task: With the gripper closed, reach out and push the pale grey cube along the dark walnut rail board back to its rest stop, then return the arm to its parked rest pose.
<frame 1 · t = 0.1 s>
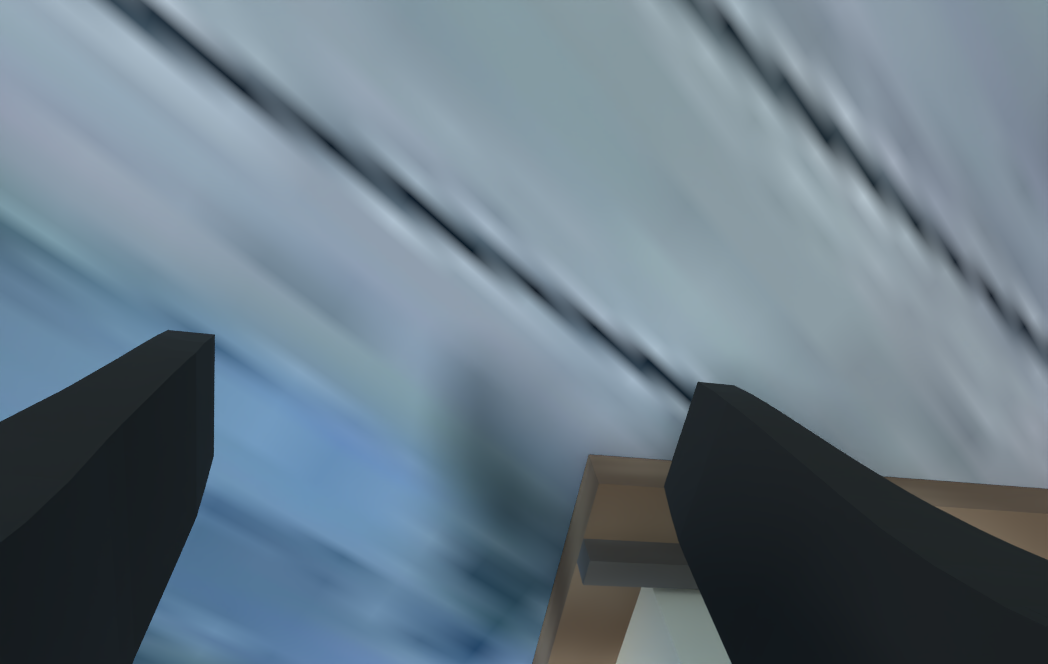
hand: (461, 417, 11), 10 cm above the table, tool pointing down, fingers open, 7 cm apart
rail board: (825, 600, 29), on the table
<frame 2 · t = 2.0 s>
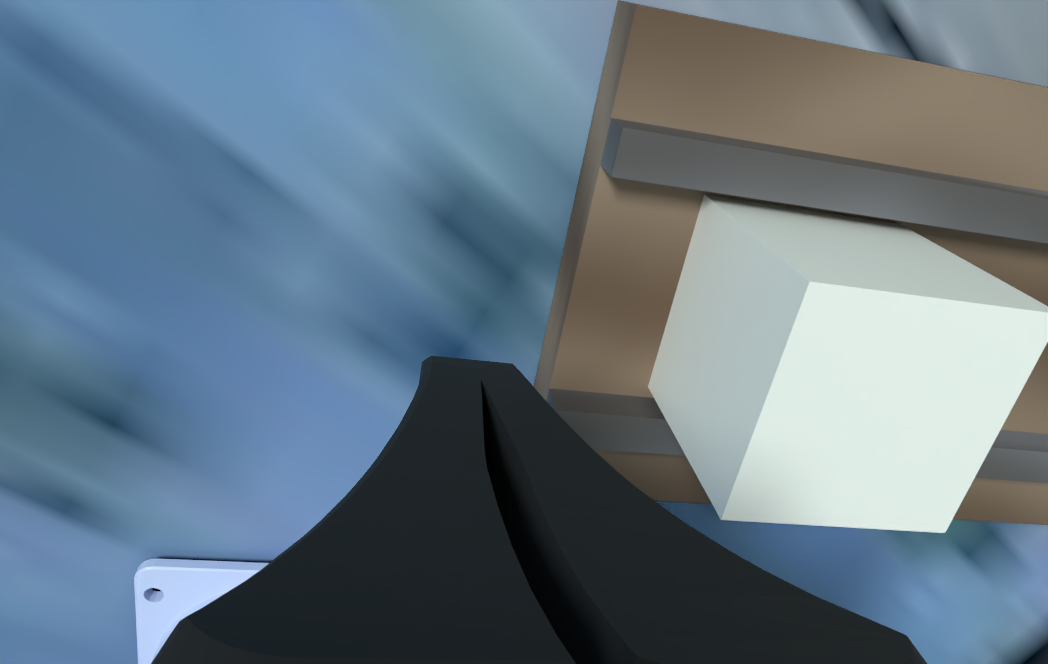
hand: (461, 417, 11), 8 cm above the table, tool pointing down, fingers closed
pale grey cube: (819, 356, 16), point 4 cm above the table, slide at 9.0 cm, touching rail board
rail board: (944, 309, 21), on the table
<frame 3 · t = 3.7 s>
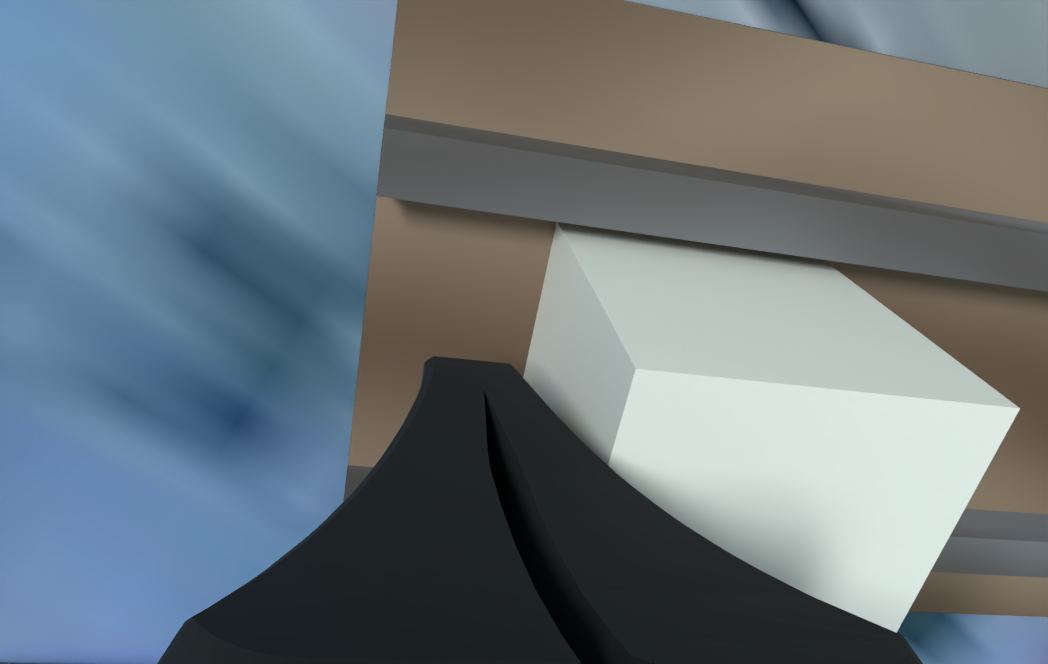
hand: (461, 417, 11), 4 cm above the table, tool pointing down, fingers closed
pale grey cube: (703, 442, 12), point 4 cm above the table, slide at 8.5 cm, touching gripper, rail board
rail board: (872, 356, 17), on the table
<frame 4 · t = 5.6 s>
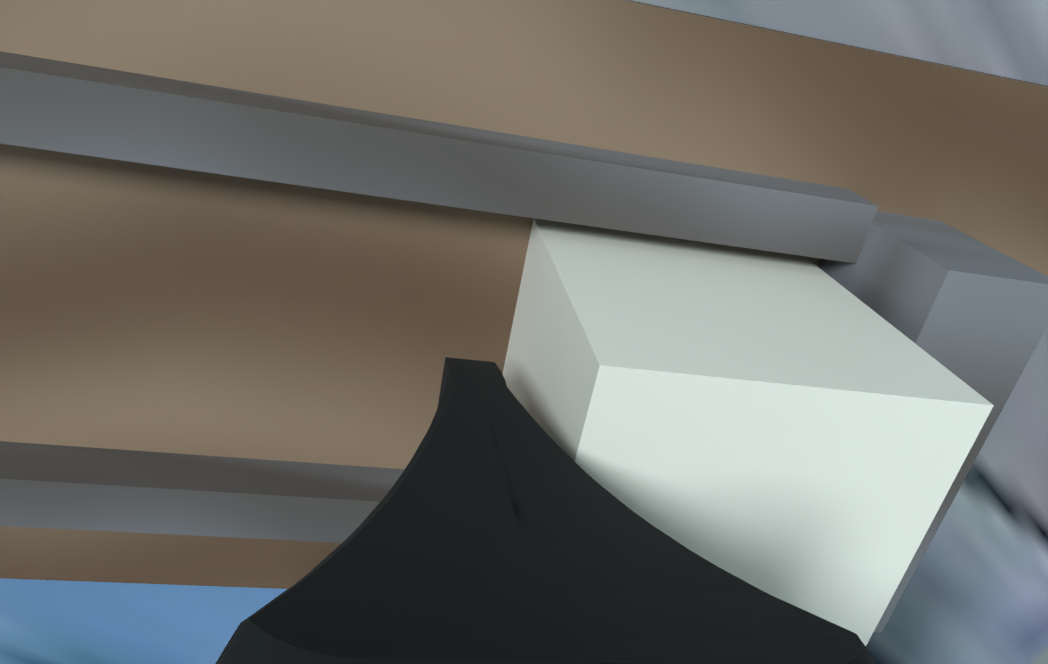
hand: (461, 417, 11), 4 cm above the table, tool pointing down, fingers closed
pale grey cube: (680, 440, 12), point 4 cm above the table, slide at -0.2 cm, touching gripper, rail board
rail board: (465, 310, 15), on the table
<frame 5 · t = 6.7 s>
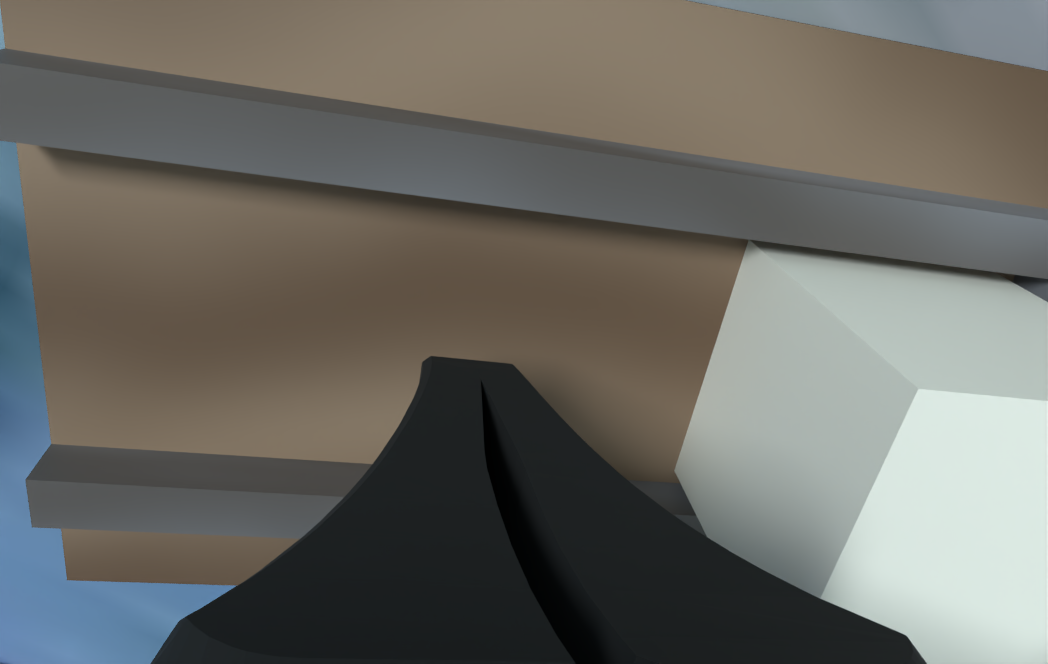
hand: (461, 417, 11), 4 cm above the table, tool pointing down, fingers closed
pale grey cube: (901, 451, 13), point 4 cm above the table, slide at 0.0 cm, touching rail board
rail board: (659, 325, 15), on the table
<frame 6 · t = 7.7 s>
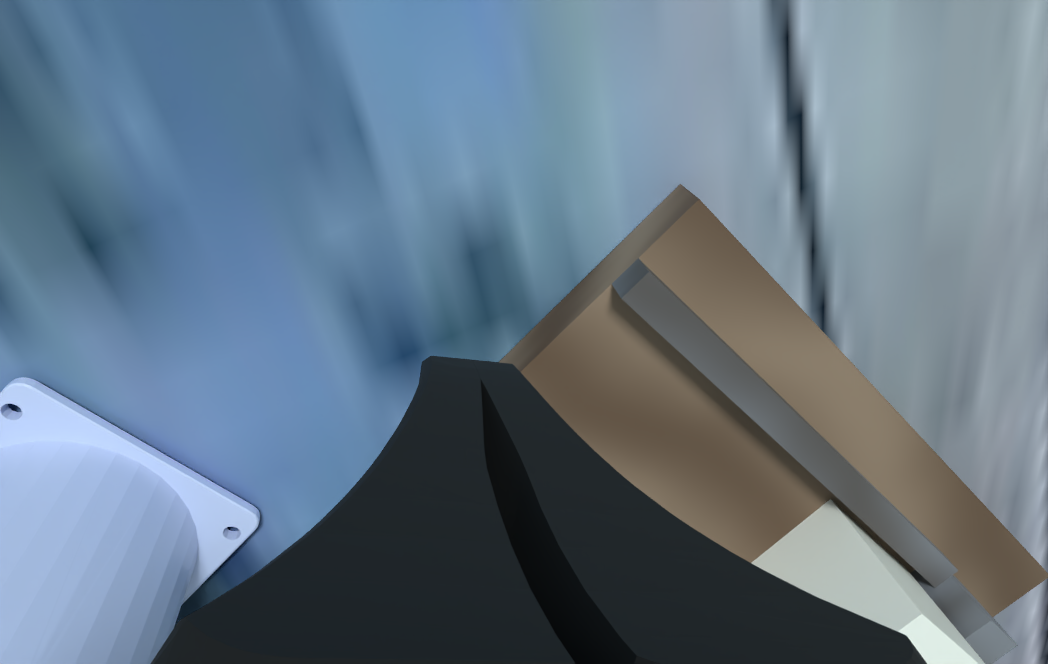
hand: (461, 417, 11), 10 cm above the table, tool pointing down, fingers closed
pale grey cube: (850, 633, 25), point 4 cm above the table, slide at 0.0 cm, touching rail board
rail board: (746, 509, 27), on the table
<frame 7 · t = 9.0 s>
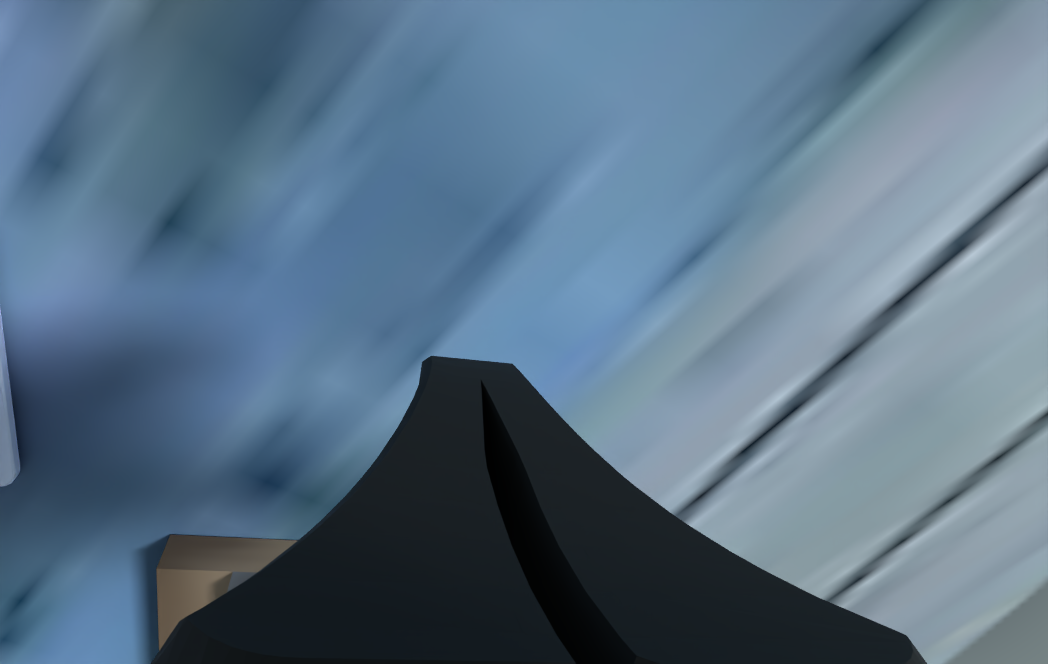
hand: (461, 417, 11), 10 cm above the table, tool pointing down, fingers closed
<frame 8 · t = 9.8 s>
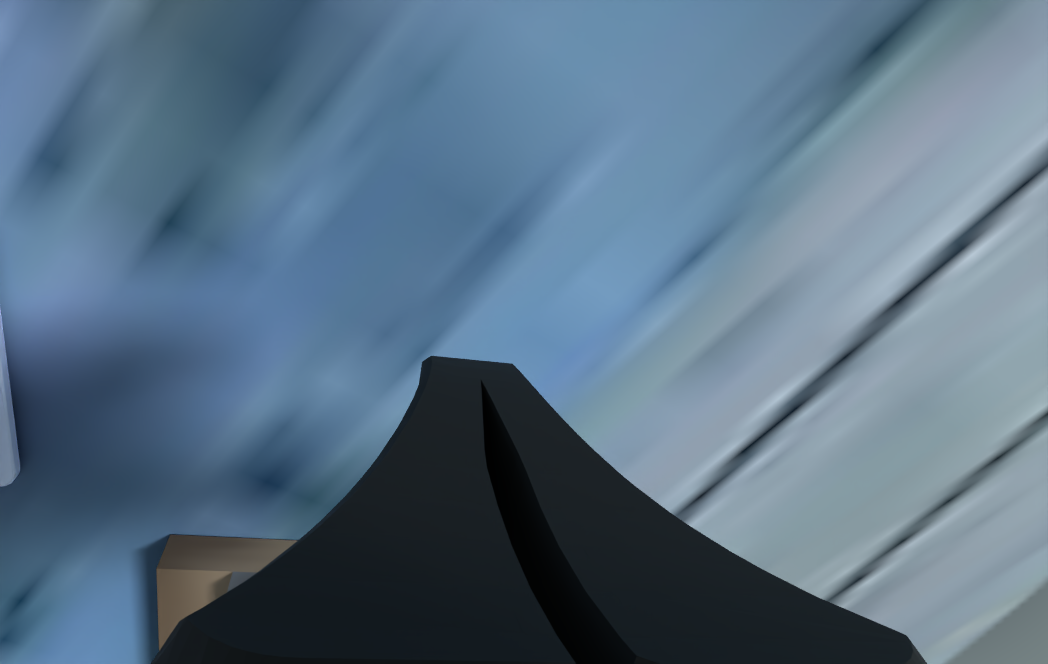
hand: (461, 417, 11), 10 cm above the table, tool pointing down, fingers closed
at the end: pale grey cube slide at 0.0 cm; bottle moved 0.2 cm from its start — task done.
